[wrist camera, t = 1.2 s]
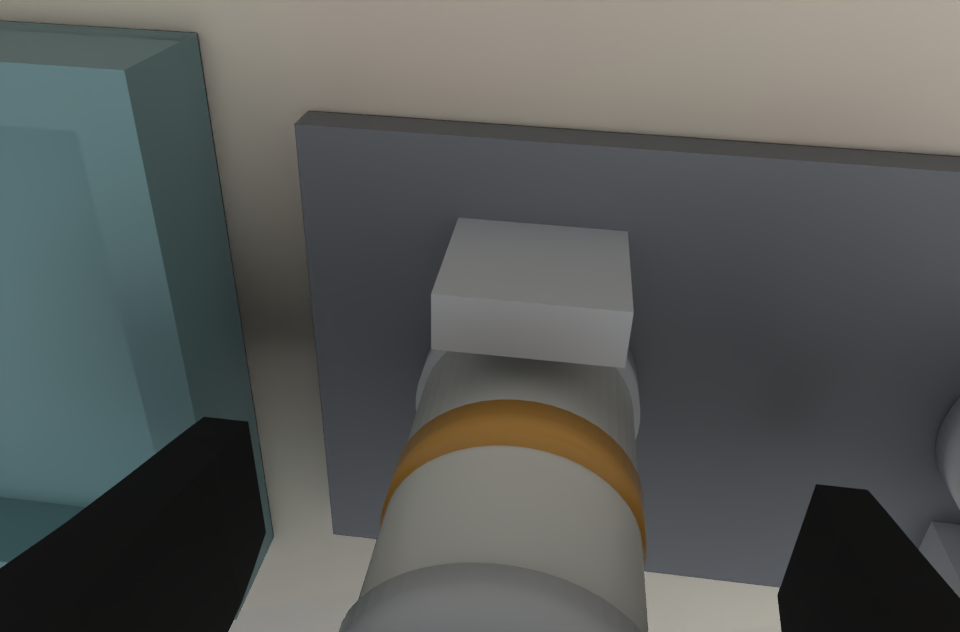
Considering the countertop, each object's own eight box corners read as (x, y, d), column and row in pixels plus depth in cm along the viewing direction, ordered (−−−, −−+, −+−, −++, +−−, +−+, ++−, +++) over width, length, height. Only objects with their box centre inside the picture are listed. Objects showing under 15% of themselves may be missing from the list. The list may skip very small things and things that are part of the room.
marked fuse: (563, 494, 14) (545, 878, 9) (390, 406, 13) (263, 761, 8) (682, 359, 12) (745, 741, 7) (488, 252, 12) (405, 580, 6)
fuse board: (1458, 192, 10) (1723, 303, 8) (1155, 606, 14) (1266, 760, 12) (308, 111, 11) (232, 184, 9) (341, 510, 16) (296, 632, 13)
